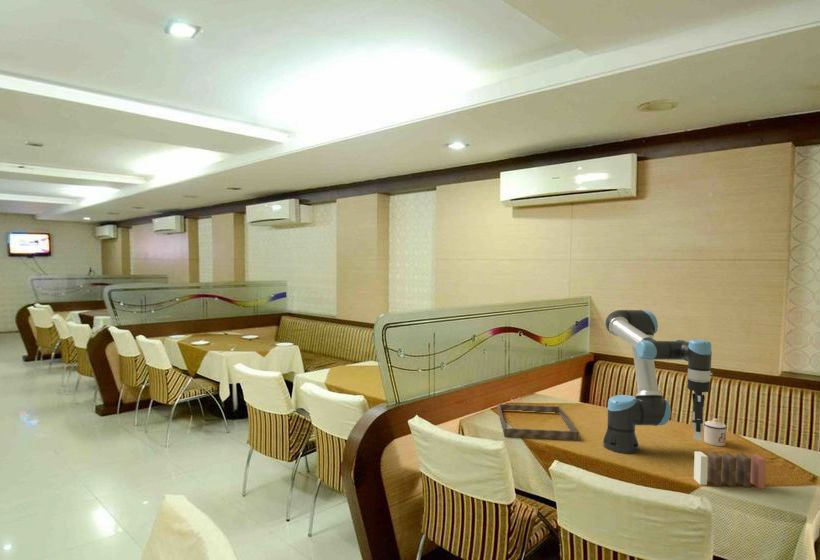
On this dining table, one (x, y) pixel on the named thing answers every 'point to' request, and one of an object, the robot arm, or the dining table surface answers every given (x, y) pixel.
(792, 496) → the dining table surface
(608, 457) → the dining table surface
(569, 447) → the dining table surface
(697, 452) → the domino
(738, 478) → the domino
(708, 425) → the teacup with lid
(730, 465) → the domino
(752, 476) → the domino
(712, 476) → the domino
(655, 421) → the robot arm
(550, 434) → the serving frame
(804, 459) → the dining table surface
